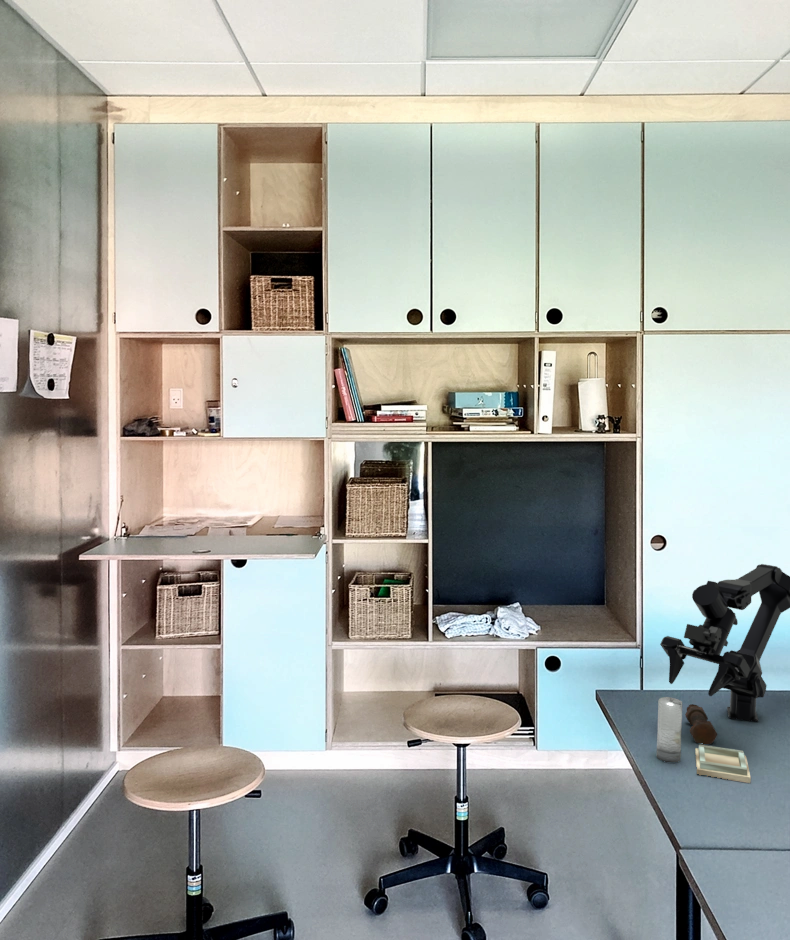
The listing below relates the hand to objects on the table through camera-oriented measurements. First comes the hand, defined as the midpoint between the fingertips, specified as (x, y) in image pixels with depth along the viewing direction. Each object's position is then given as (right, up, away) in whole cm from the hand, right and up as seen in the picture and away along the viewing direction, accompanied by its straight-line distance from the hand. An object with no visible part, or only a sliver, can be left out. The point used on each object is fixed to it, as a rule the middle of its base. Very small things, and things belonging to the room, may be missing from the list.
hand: (689, 688), depth 166 cm
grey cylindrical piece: (-6, -14, -4) cm, 15 cm away
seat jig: (+3, -14, -8) cm, 17 cm away
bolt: (+6, -13, +10) cm, 17 cm away
